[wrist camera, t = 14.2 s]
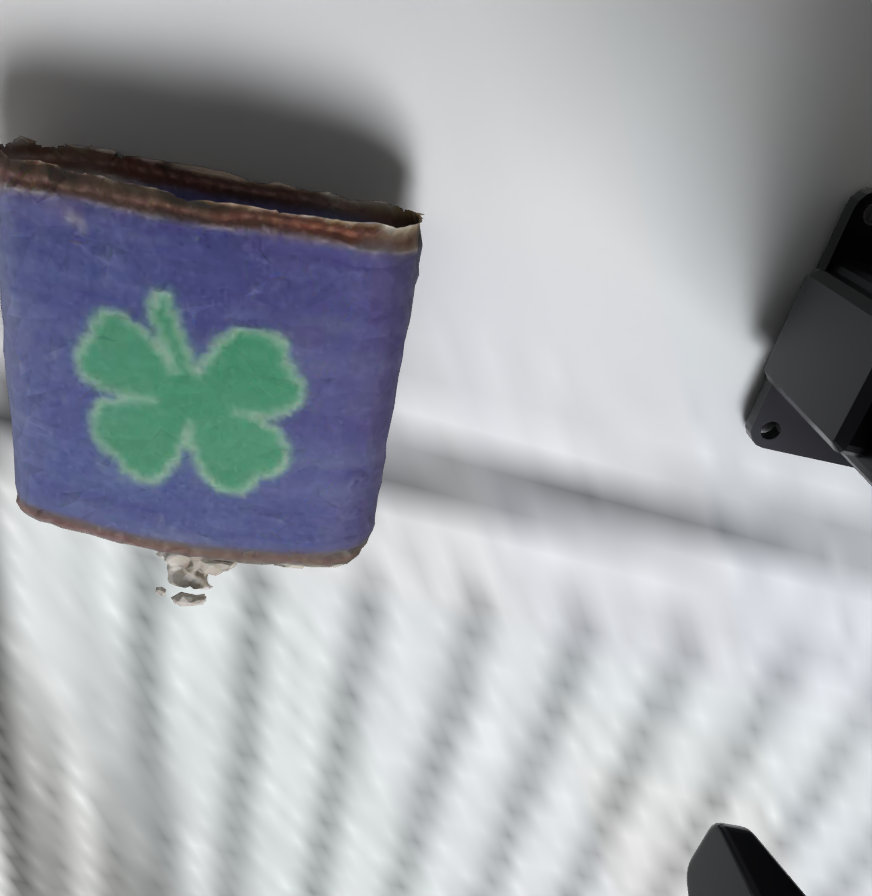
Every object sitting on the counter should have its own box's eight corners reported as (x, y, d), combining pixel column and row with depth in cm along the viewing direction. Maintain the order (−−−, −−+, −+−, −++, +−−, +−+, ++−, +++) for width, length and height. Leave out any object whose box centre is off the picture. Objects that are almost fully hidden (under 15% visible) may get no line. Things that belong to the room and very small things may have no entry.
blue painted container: (20, 131, 17) (45, 529, 22) (-56, 146, 15) (-9, 593, 19) (429, 207, 18) (366, 578, 23) (426, 234, 15) (355, 646, 20)
